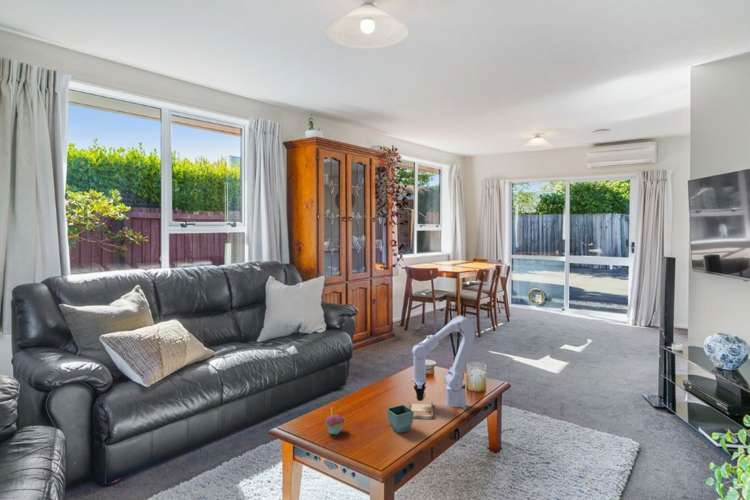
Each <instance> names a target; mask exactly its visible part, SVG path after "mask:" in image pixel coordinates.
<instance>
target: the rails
mask: <svg viewBox="0 0 750 500" xmlns="http://www.w3.org/2000/svg"><path fill="white" fill-rule="evenodd" d="M410 404H411V403H410V401H409V400H407V406H406V407H408V408H409V405H410ZM430 404H431V411H430V413H431V414H430V415H429V414H413V420H414V419H415V420H416V419H417V420H419V419H420V420H422V419H423V420H434V410H433V409H434V407H433V405H434V403H433V401H431V402H430Z"/></svg>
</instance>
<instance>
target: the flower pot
mask: <svg viewBox="0 0 750 500" xmlns="http://www.w3.org/2000/svg"><path fill="white" fill-rule="evenodd" d="M386 414H387V420H388V423H389V426H390V427H391V429H392V430H393V431H395V432H396V433H397V434H402V433H404V432H405V433H406V432H409V430H411V427H412V425H413V422H414V418H413V415H414V411H412V410H411V409H409V408H408V407H407V406H406V405H405V404H400V405H397V406H392V407H388V408H386Z"/></svg>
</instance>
